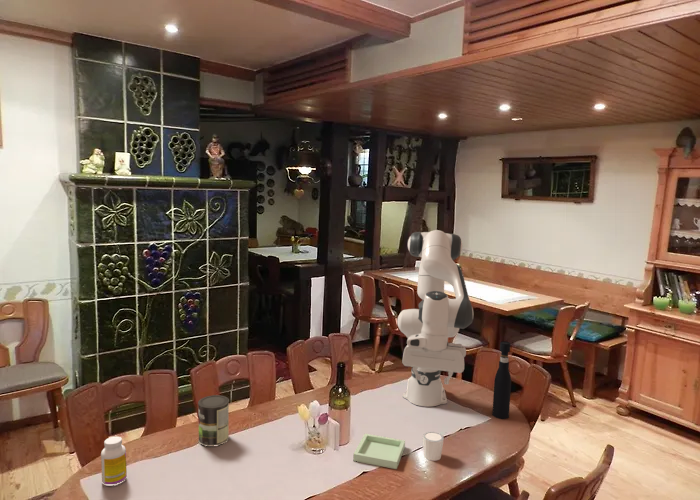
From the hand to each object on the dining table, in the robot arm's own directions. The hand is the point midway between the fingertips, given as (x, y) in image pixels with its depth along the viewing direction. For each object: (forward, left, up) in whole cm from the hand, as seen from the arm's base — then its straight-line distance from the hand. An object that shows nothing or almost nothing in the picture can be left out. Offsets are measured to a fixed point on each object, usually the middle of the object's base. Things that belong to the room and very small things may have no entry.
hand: (432, 381), depth 162 cm
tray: (+6, -16, -25) cm, 30 cm away
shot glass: (+2, +1, -25) cm, 25 cm away
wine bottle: (-38, +23, -25) cm, 52 cm away
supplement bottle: (+48, -87, -25) cm, 102 cm away
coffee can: (+17, -73, -25) cm, 79 cm away
